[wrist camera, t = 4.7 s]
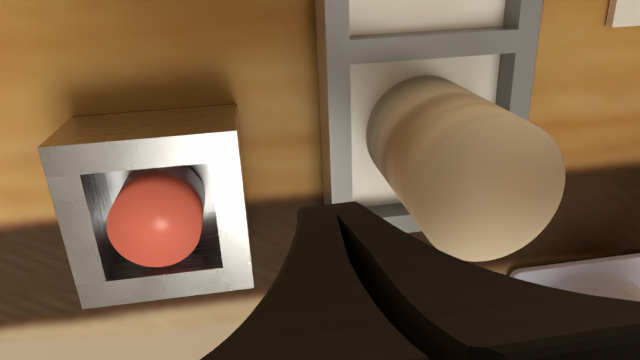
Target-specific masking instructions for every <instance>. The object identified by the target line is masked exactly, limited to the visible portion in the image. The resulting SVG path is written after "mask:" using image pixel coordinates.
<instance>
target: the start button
mask: <svg viewBox="0 0 640 360" xmlns="http://www.w3.org/2000/svg"><path fill="white" fill-rule="evenodd" d="M204 206H205V190H204V187H203V184H202V182H201V180H200V179H199V177H198V176H197V175H196V174H195V173H194V172H193V171H192V170H191V169H190V168H188V167H187V166H185V165H181V166H170V167H159V168H149V169H138V170H133V171H132V172H131V173H130V174H129V175H128V177H127V178H126V180H125V182H124V184H123V186H122V188H121V190H120V192H119V194H118V196H117V197H116V199H115V201H114V203H113V205H112V207H111V209H110V211H109V213H108V216H107V222H106V228H107V234H108V237H109V240H110V242H111V244H112V245H113V247H114V248H115V249H116V250H117V251H118V253H120V254H121V255H122V256H123V257H125V258H126V259H127V260H129V261H131V262H133V263H136V264H138V265H142V266H147V267H164V266H169V265H173V264H175V263H178V262H180V261H181V260H183V259H185V258H186V257H187V256H189V255H190V254H191V253H192V251H193V250H194V249H195V247H196V246H197V244H198V242H199V239H200V235H201V229H202V221H203V214H204Z"/></svg>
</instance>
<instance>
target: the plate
mask: <svg viewBox="0 0 640 360" xmlns="http://www.w3.org/2000/svg"><path fill="white" fill-rule="evenodd" d="M626 26H640V0H610V3H609V9H608V14H607V20H606V27H626Z"/></svg>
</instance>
